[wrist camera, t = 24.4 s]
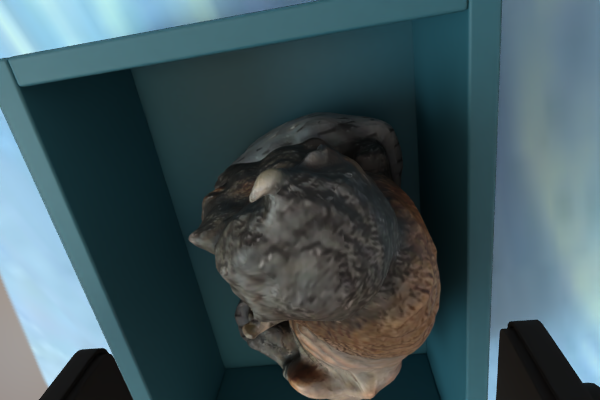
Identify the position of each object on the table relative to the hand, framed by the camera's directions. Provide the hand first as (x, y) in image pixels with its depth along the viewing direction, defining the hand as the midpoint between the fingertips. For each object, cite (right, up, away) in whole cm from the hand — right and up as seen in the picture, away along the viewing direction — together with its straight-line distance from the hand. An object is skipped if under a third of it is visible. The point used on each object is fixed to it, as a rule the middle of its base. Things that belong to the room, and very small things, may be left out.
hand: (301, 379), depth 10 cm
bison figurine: (+1, +3, +8) cm, 9 cm away
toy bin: (0, +3, +9) cm, 9 cm away
